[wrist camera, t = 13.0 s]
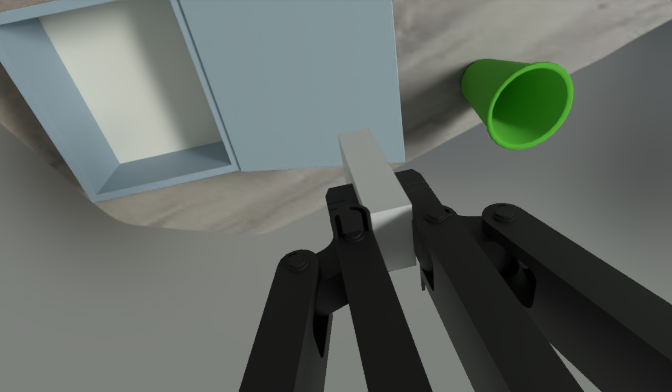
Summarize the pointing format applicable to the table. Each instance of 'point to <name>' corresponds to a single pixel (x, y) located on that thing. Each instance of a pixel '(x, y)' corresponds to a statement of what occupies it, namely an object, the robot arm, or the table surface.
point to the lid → (300, 77)
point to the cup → (518, 99)
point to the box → (118, 92)
